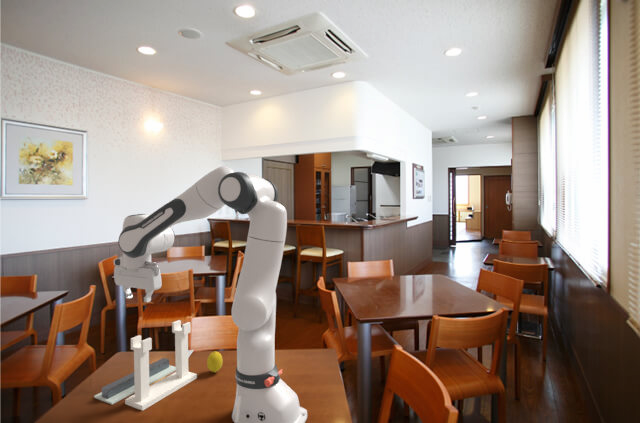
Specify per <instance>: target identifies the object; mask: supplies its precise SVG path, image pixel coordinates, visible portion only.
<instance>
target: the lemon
mask: <svg viewBox="0 0 640 423" xmlns="http://www.w3.org/2000/svg"><path fill="white" fill-rule="evenodd" d="M223 359H224V358H223V356H222V354H221V353H220V352H218V351H216V350H215V351H212V352H210V353H209V355H208V356H207V360H206V365H207V366H206V367H207V368H208V370H209V371H210V372H212V373H217V372H218V371H219V370H221V368H222V366H223V363H224V362H223Z"/></svg>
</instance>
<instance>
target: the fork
mask: <svg viewBox="0 0 640 423" xmlns="http://www.w3.org/2000/svg"><path fill="white" fill-rule="evenodd" d="M194 350H195V349H188V359H189V358H190V356H191V355H192V354H193V352H194Z"/></svg>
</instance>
